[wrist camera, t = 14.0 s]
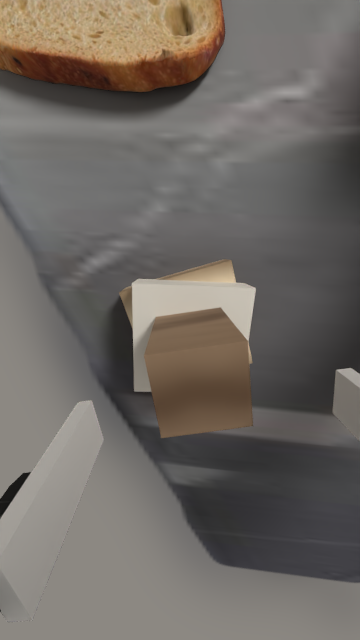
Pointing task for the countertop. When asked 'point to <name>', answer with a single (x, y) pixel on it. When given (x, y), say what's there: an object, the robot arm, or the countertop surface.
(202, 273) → the tower base
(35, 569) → the robot arm
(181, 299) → the tower top
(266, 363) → the countertop surface
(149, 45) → the slice of bread
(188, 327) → the walnut block
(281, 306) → the countertop surface
